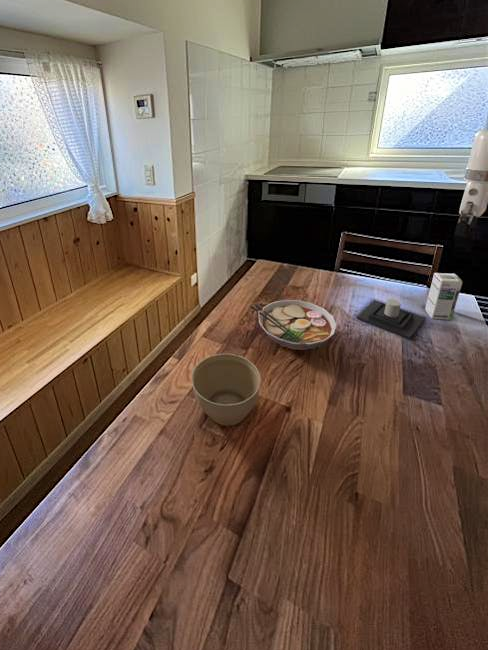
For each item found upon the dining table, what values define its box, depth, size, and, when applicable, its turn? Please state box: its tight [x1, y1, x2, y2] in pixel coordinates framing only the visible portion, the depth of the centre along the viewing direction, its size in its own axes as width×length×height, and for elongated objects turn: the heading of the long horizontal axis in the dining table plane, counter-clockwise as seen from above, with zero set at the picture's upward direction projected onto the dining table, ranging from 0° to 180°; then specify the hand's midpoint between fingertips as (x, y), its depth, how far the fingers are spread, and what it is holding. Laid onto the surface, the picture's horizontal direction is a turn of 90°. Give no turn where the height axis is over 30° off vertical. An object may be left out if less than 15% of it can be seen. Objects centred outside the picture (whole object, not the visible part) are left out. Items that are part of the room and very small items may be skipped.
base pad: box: [356, 299, 426, 341], centre depth 111 cm, size 16×14×2 cm
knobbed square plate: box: [375, 298, 407, 324], centre depth 110 cm, size 7×7×6 cm
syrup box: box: [424, 272, 463, 321], centre depth 109 cm, size 6×6×14 cm
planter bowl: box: [190, 353, 262, 427], centre depth 81 cm, size 16×16×11 cm
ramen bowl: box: [250, 299, 337, 351], centre depth 104 cm, size 25×23×8 cm
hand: (465, 231), depth 103 cm, fingers open, 9 cm apart
